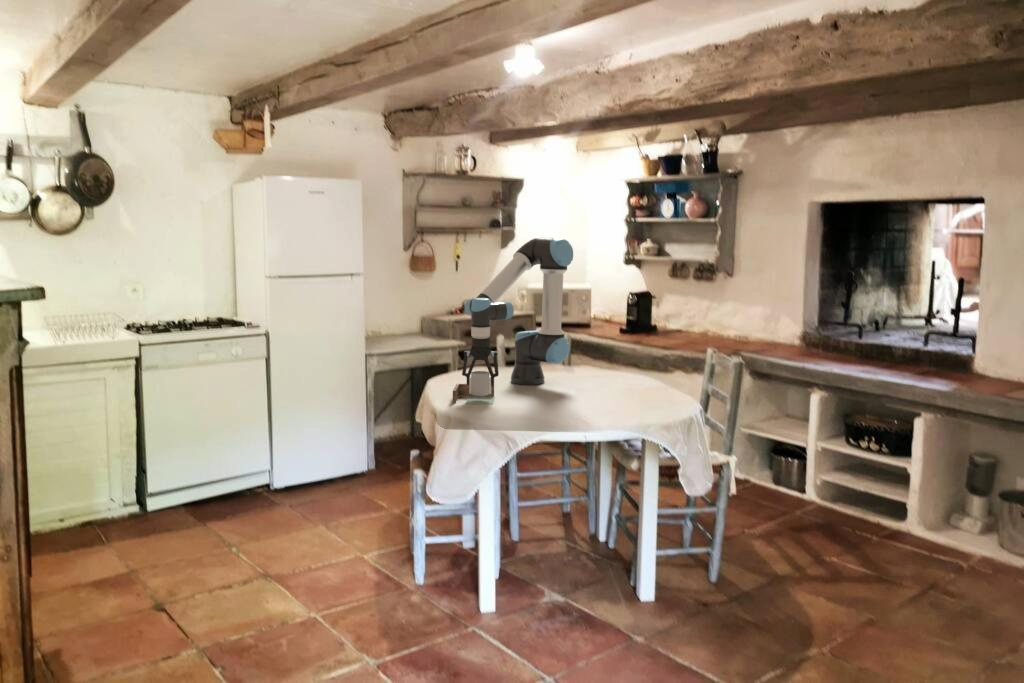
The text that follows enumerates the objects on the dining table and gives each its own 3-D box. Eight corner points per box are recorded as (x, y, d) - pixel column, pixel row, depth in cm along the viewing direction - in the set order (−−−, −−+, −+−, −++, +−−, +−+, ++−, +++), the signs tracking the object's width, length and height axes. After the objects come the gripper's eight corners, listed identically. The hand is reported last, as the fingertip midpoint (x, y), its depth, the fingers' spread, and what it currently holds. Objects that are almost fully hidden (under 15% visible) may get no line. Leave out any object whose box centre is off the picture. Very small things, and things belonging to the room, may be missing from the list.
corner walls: (494, 396, 329) (494, 384, 328) (491, 403, 315) (491, 391, 315) (456, 395, 330) (456, 383, 329) (452, 403, 316) (452, 390, 315)
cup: (474, 396, 315) (474, 374, 313) (466, 391, 324) (466, 370, 323) (491, 395, 317) (491, 373, 316) (483, 390, 327) (483, 369, 325)
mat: (495, 397, 327) (494, 396, 327) (492, 404, 315) (492, 403, 315) (468, 396, 327) (468, 396, 327) (465, 403, 315) (465, 403, 315)
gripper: (506, 336, 320) (505, 391, 324) (456, 335, 321) (456, 390, 325) (505, 338, 313) (504, 395, 316) (454, 337, 314) (454, 394, 317)
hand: (480, 393), depth 321 cm, fingers closed on cup, 7 cm apart
